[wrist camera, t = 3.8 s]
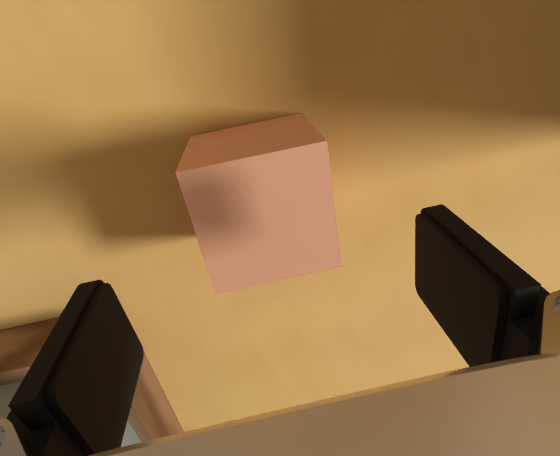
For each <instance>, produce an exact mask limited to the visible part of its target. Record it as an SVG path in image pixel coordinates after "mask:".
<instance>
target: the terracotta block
mask: <svg viewBox="0 0 560 456" xmlns="http://www.w3.org/2000/svg"><path fill="white" fill-rule="evenodd" d="M175 174H176V177H177V180H178V183H179V186H180V189H181V192H182V195H183V198H184V201H185V204H186V207H187V210H188V213H189V216H190V219H191V222H192V225H193V228H194V231H195V234H196V237H197V240H198V243H199V246H200V249H201V252H202V255H203V258H204V261H205V264H206V267H207V270H208V273H209V276H210V279H211V282H212V285H213V288H214V291H215V294H218V293H223V292H228V291H232V290H237V289H241V288H246V287H250V286H255V285H260V284H264V283H269V282H273V281H278V280H282V279H287V278H292V277H296V276H301V275H305V274H310V273H314V272H319V271H323V270H328V269H333V268H337V267H342V262H341V254H340V245H339V237H338V229H337V220H336V212H335V203H334V195H333V186H332V178H331V170H330V161H329V153H328V144H327V140H326V139H325V138H324V137H323V136H322V135H321V134H320V133H319V131H318V130H317V129H316V128H315V127H314V126H313V125H312V124H311V123H310V122H309V121H308V120H307V118H306V117H305V116H304V115H303V114H302V113H299V114H294V115H289V116H284V117H279V118H275V119H270V120H265V121H260V122H256V123H251V124H246V125H241V126H236V127H232V128H227V129H222V130H217V131H213V132H208V133H203V134H198V135H193V136H190V138H189V140H188V143H187V145H186V148H185V150H184V153H183V155H182V157H181V160H180V162H179V165H178V167H177V170H176V172H175Z"/></svg>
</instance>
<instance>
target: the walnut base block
mask: <svg viewBox="0 0 560 456" xmlns="http://www.w3.org/2000/svg"><path fill="white" fill-rule="evenodd" d="M58 319H59V318H54V319H50V320H45V321H40V322H36V323H31V324H27V325H22V326H17V327H13V328H8V329H4V330H0V386H1V385H5V384H10V383H14V382H18V381H22V380H23V379H24V377H25V376H26V374H27V372H28V370H29V369H30V367H31V365H32V364H33V362H34V360H35V358H36V357H37V355H38V353H39V352H40V350H41V348H42V346H43V345H44V343H45V341H46V340H47V338H48V336H49V334H50V333H51V331H52V329H53V328H54V326H55V324H56V322H57V321H58ZM143 352H144V351H143ZM128 422H129V423H130V425H131V427H132V428H133V430H134V431H135V433H136V435H137V436H138V438H139V439H140V441H141V442H145V441H149V440H153V439H157V438H162V437H166V436H170V435H174V434H178V433H183V432H184V431H183V429H182V427H181V425H180V423H179V421H178V419H177V417H176V415H175V413H174V411H173V409H172V407H171V405H170V403H169V401H168V399H167V397H166V395H165V393H164V391H163V389H162V387H161V385H160V383H159V381H158V379H157V377H156V375H155V373H154V371H153V369H152V367H151V365H150V363H149V361H148V359H147V357H146V355H145V353H144V357H143V362H142V366H141V370H140V374H139V377H138V381H137V385H136V389H135V393H134V397H133V401H132V405H131V409H130V413H129V417H128Z"/></svg>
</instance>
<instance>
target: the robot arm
mask: <svg viewBox="0 0 560 456" xmlns="http://www.w3.org/2000/svg"><path fill="white" fill-rule="evenodd" d="M415 286H416V290H417V293H418V295H419V297H420V298H421V299H422V301H423V302H424V304H425V305H426V306H427V308H428V309H429V311H430V312H431V313H432V315H433V316H434V318H435V319H436V320H437V322H438V323H439V325H440V326H441V327H442V329H443V330H444V332H445V333H446V334H447V336H448V337H449V339H450V340H451V341H452V343H453V344H454V346H455V347H456V348H457V350H458V351H459V353H460V354H461V355H462V357H463V358H464V359H465V361H466V362H467V364H468V365H469V366H470V367H468V368H463V369H458V370H454V371H449V372H444V373H439V374H435V375H430V376H426V377H421V378H417V379H412V380H408V381H404V382H399V383H395V384H390V385H386V386H381V387H377V388H373V389H368V390H364V391H359V392H355V393H350V394H346V395H342V396H337V397H333V398H329V399H324V400H320V401H315V402H311V403H307V404H302V405H298V406H294V407H289V408H285V409H281V410H276V411H272V412H268V413H264V414H259V415H255V416H251V417H246V418H242V419H238V420H233V421H229V422H225V423H221V424H216V425H212V426H208V427H204V428H200V429H195V430H191V431H187V432H183V433H178V434H174V435H170V436H166V437H162V438H157V439H153V440H149V441H145V442H141V443H136V444H132V445H128V446H124V447H121V444H122V440H123V436H124V432H125V428H126V424H127V420H128V417H129V413H130V409H131V405H132V401H133V397H134V393H135V389H136V385H137V381H138V377H139V374H140V370H141V366H142V362H143V357H144V352H143V347H142V345H141V343H140V341H139V339H138V337H137V335H136V333H135V331H134V329H133V327H132V325H131V323H130V321H129V319H128V317H127V315H126V314H125V312H124V310H123V308H122V306H121V304H120V302H119V300H118V298H117V296H116V294H115V292H114V290H113V288H112V287H111V285H110V284H109V283H104V282H103V281H102V280H96V281H92V282H87V283H82V284H79V285H78V286H77V288H76V290H75V292H74V293H73V295H72V297H71V298H70V300H69V302H68V304H67V305H66V307H65V309H64V310H63V312H62V314H61V316H60V317H59V319H58V321H57V322H56V324H55V326H54V328H53V329H52V331H51V333H50V334H49V336H48V338H47V340H46V341H45V343H44V345H43V346H42V348H41V350H40V352H39V353H38V355H37V357H36V358H35V360H34V362H33V364H32V365H31V367H30V369H29V370H28V372H27V374H26V376H25V377H24V379H23V381H22V382H21V384H20V386H19V388H18V389H17V391H16V393H15V394H14V396H13V398H12V400H11V401H10V403H9V405H8V406H9V408H10V409H11V411H10V412H9V414H8V416H7V418H6V419H4V418H0V456H560V290H558V291H555V292H552V293H551V294H550V293H549V292H548V291H546V290H545V289H544V288H543V287H541V284H540V283H538V282H537V281H536V280H535V279H534V278H532V277H531V276H530V275H529V274H527V273H526V272H525V271H524V270H523V269H521V268H520V267H519V266H518V265H516V264H515V263H514V262H513V261H512V260H510V259H509V258H508V257H507V256H505V255H504V254H503V253H502V252H500V251H499V250H498V249H497V248H496V247H494V246H493V245H492V244H491V243H489V242H488V241H487V240H486V239H485V238H483V237H482V236H481V235H480V234H478V233H477V232H476V231H475V230H474V229H472V228H471V227H470V226H469V225H467V224H466V223H465V222H464V221H463V220H461V219H460V218H459V217H458V216H456V215H455V214H454V213H453V212H451V211H450V210H449V209H448V208H447V207H445V206H444V205H436V206H432V207H427V208H423V209H422V210H421V213H420V214H417V215H416V220H415Z"/></svg>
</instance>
